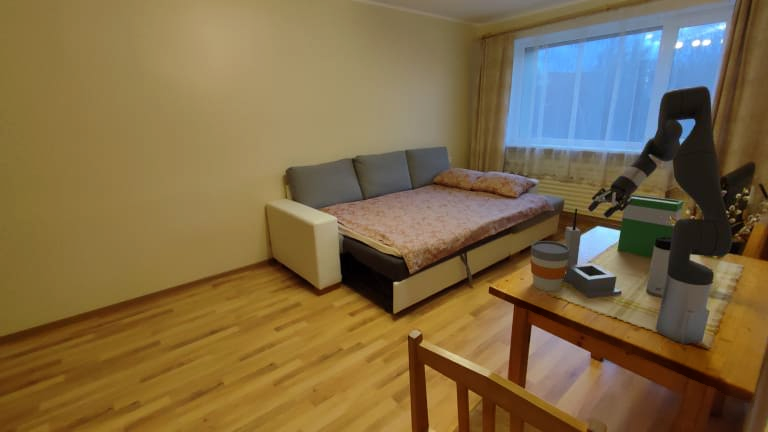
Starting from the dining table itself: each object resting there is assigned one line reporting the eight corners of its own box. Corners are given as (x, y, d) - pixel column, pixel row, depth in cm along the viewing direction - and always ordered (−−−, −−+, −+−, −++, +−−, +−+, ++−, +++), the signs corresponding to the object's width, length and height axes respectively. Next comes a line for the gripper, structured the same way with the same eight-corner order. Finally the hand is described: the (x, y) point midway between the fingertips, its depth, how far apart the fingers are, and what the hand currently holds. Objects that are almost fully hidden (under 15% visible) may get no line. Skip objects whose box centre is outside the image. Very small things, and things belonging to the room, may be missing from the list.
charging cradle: (621, 294, 119) (623, 279, 117) (589, 298, 118) (591, 282, 116) (588, 273, 134) (590, 260, 133) (559, 277, 133) (561, 263, 131)
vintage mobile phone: (571, 265, 142) (578, 206, 135) (576, 271, 137) (583, 209, 130) (561, 265, 142) (567, 206, 135) (566, 271, 137) (573, 210, 130)
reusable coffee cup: (552, 297, 119) (556, 256, 115) (520, 284, 129) (523, 246, 125) (573, 286, 126) (577, 247, 121) (541, 274, 136) (544, 238, 131)
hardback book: (617, 250, 154) (625, 197, 148) (623, 245, 159) (631, 194, 152) (666, 261, 141) (678, 204, 134) (672, 256, 146) (683, 200, 139)
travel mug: (660, 299, 115) (671, 242, 109) (641, 290, 121) (651, 235, 115) (675, 296, 116) (687, 239, 111) (655, 287, 122) (665, 233, 117)
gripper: (609, 172, 138) (579, 202, 140) (639, 178, 125) (605, 212, 126) (619, 184, 140) (589, 214, 142) (650, 191, 127) (616, 224, 129)
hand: (597, 213), depth 134 cm, fingers open, 8 cm apart
